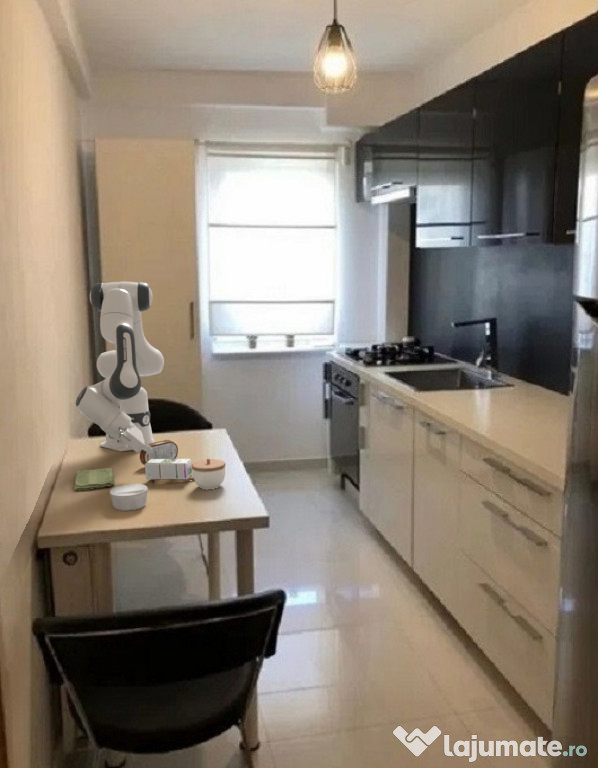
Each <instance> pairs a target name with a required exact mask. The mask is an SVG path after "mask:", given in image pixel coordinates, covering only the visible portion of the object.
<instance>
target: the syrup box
mask: <svg viewBox="0 0 598 768" xmlns="http://www.w3.org/2000/svg"><path fill="white" fill-rule="evenodd" d="M192 464H193V462H192V459H191V458H175V459H150V460H149V461H148V462H146V463H145V465H144V466H145V467H144V468H145V469H144V470H145V480H154V479H188V478H189V477H190V476H191V475H192Z"/></svg>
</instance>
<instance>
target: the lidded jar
mask: <svg viewBox="0 0 598 768" xmlns="http://www.w3.org/2000/svg"><path fill="white" fill-rule="evenodd" d="M192 471H193V477H194V480H195V481H194V482H195V484H196V485H197V486H198V487H199V488H200V489H201V488H202V489H201V490H204V489H206V490H207V491H209V490H208V489H212V490H215V488H216V489H219V487H220V486H221V485H222V483H223V482H224V480H225V477H226V462H225V461H224V460H222V459H218V458H217V459H212V458H211V459H210V458H209V457H208V458H206V459H202V460H198V461H195V462H192Z"/></svg>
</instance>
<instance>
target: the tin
mask: <svg viewBox="0 0 598 768" xmlns="http://www.w3.org/2000/svg"><path fill="white" fill-rule="evenodd" d="M148 445H149V446H151V447H152V450H153V451H152V452H151V453H150V454H149V453H147V452H146V451H144V450H141V451H140V452H139V460H140V462H141V464H142V465H143V466H145V463H146V462H148V461H149V460H150V459H177V457H178V453H179V448H178V447H179V446H178V445H177V443H175V442H174V441H173V440H171V439H164V440H160V441H154V443H149V444H148Z"/></svg>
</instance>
